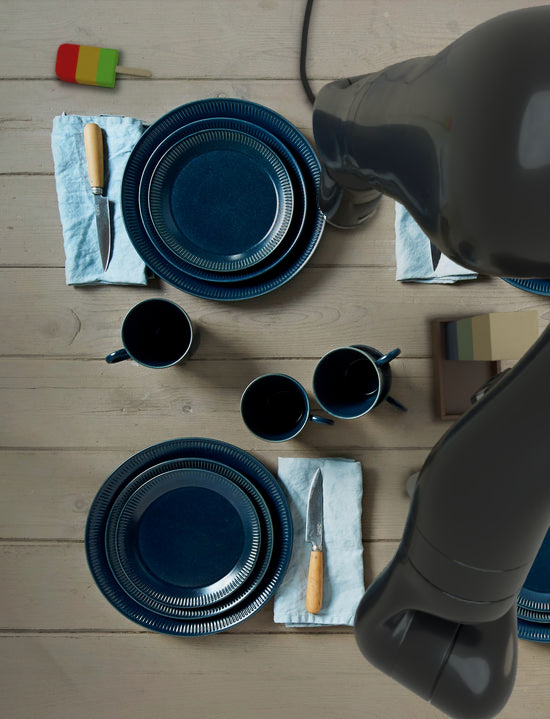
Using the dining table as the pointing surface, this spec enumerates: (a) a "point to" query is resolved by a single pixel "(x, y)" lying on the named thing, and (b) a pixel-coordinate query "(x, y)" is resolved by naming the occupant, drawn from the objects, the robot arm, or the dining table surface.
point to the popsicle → (91, 65)
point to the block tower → (491, 336)
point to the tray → (456, 375)
